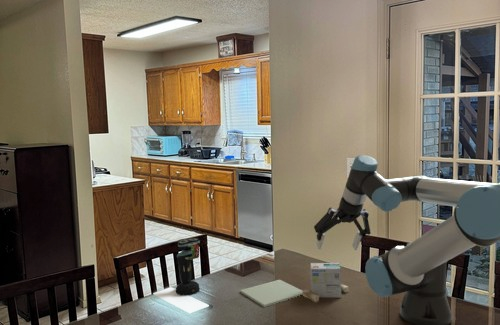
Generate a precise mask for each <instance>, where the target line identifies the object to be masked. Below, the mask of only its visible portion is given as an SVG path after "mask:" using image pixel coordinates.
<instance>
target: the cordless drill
mask: <svg viewBox="0 0 500 325" xmlns="http://www.w3.org/2000/svg"><path fill="white" fill-rule="evenodd" d="M200 241H201V240H200V239H199V238H196V237H194V238H190V237H189V238H180V239H178V241H177V243H176V244H177V247H178V249H179V250H181V251H180V252H179V253H177V255H176V258H177V264H178V271H179V279H180V282H181V283H179V284H177V285H176V287H175V294H176V295H179V296H191V295H196V294H197V293H199V292H200V291H201V289H200V284H199V283H198V282H197V281H195V280H192V263H191V262H192V260H195V259H199V257H200V243H201V242H200Z"/></svg>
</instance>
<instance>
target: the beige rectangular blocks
mask: <svg viewBox="0 0 500 325" xmlns="http://www.w3.org/2000/svg"><path fill="white" fill-rule="evenodd" d="M349 287H350V286H348V285H345V284H343V283H341V293H344V294H347V293H349V291H350V290H349V289H350V288H349ZM302 291H303V296H305V297H307V298H309V299H311V300H313V301H315V302H316V301H319V302H320V297H319V296H318V295H316V294H314V293H311V291H309V290H307V289H305V290H302ZM303 296H302V297H303ZM305 297H304V298H305ZM307 298H306V299H307ZM309 299H308V300H309ZM311 300H310V301H311ZM313 301H312V302H313ZM315 302H314V303H315ZM316 303H317V302H316Z"/></svg>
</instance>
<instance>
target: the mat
mask: <svg viewBox="0 0 500 325" xmlns="http://www.w3.org/2000/svg"><path fill="white" fill-rule="evenodd" d="M303 291H304V290H302V289H300V288H298V287H296V286H294V285H292V284H290V283H287V282H285V281H284V280H281V279H277V280H274V281H273V280H272V281H270V282H266V283H261V284H258V285H255V286H250V287H246V288H243V289H240V290H239V292H240V293H241V294H243V295H244V296H246V297H247V298H249V299H251V300H252V301H254V302H255V303H257V304H258V305H260V306H261V307H263V308H266V307H269V306H273V305H276V304H278V303H279V302H280V303H283V302H286V301H289V300H292V299H291V298H293V299H295V298H294V297H296V298H298V297H297V296H299V297H301V296H300V295H303ZM288 299H289V300H288ZM280 303H279V304H280Z"/></svg>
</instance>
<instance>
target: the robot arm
mask: <svg viewBox="0 0 500 325" xmlns="http://www.w3.org/2000/svg"><path fill="white" fill-rule="evenodd" d="M378 166H379V164H378V161H377V159H375V158H373V157H372V156H370V155H365V154H364V155H357V156H355V158H354V159H353V163H352V165H351V166H350V170H349V174H348V177H347V180H346V182H345V183H346V184H345V187H344V189H343V192H342V195H341V198H340V201H339V205H338V208H337V209H333V207H329V208H328V210H327V212H326V213H325V214H324V215H323V216H322V217H321V218H320V220H319V221H318V222H317V223H316V224H315V225H314V226H313V228H314V232H315V233H317V234H316V239H317V241H316V247H317V249H318V250H321V249H322V245H323V242H324V239H325V236H326V234H325V233H326V232H328V231H329V230H331V229H332V228H333V227H335V226H336V225H340V224H341V223H349V224H350V223H351V224H352V222H353V223H354V225H355V226H356V227H357V229H358V231H356V233H355V236H354V239H353V242H352V244H351V245H352V248H353V250H354V251H357V250H358V247H359V245H360V243H361V242H362V241H363V239H364V238H366V236H367V235H371V228H370V224H369V215H370V214H369V213H368V210H367V209H366V208H364V209H363V207H364V204H365V202H366V199H367V198H368V199H369V200H370V201H371V202H372V203H373V205H374V206H376V207H377V208H379V209H380V210H381V211H383V212H387V213H388V212H389V213H390V212H392V211H393V210H395V209H397V208H398V207H399V206H400V204H401V203H402V202H410V201H411V202H413V201H415V202H422V203H427V204H428V203H430V204H436V205H441V206H448V207H454V209H453V214H452V215H451V216H450V217H449V218H447V219H445V220H444V221H442V222H440V223H439V224H438V225H436V226H435V227H433V228H431V229H430V230H428V231H427V232H425V233H424V234H422V235H421V236H419V237H417V238H416V239H415V240H413V241H412V242H407V243H406V246H405V245H396V246H394V247H393V248H391V249H389V251H387V252H385V253H384V254H381V255H374V256H372V257H370V258H368V259H367V261H366V263H365V268H364V269H365V278H366V280H367V284H368V285H369V287H370V289H371V290H372V292H373V293H375V294H376V295H377V296H379V297H381V298H384V297H392V296H393V295H398V294H402V293H404V296H403V299H402V302H401V304H400V306H399V311H400V313H399V314H400V316H401V318H402V319H403V320H404V321H406V322H408V323H410V324H412V325H450V324H451V323H452V321H453V315H452V314H453V313H452V309H451V306H450V304H449V300H448V297H447V263H448V261H449V260H452V259H454V258H456V257H457V256H459V255H461V254H464V253H465V252H466V251H468V250H470V249H472V248H474V247H475V246H477V247H482V248H487V247H490V246H492V245H494V244H496V243H497V242H500V182H499V183H492V182H484V181H483V182H482V181H481V182H480V181H472V180H471V181H468V180H458V179H444V178H437V177H436V178H435V177H433V178H432V177H428V176H426V175H413V176H412V175H411V176H406V177H404V176H403V177H395V178H387V179H386V178H384V177H383V176H382V175H381V174H379V172H377V171H378ZM360 216H361V217H362V221H363V227H364V228H363V227H362V226H361V224H360V222H359V220H358V219H359V217H360Z"/></svg>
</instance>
